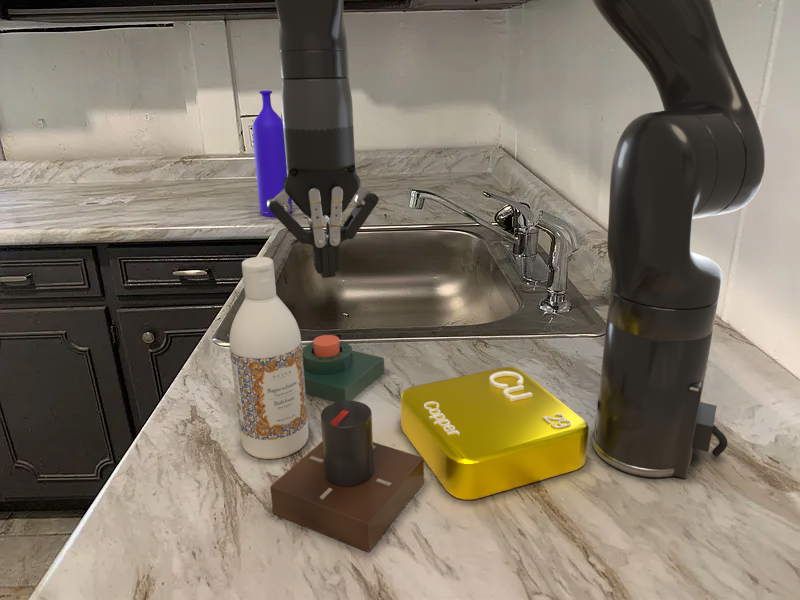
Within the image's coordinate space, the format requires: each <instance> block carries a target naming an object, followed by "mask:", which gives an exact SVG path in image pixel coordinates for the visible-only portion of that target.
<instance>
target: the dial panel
mask: <svg viewBox="0 0 800 600" xmlns="http://www.w3.org/2000/svg"><path fill="white" fill-rule="evenodd" d="M373 463H374V471H373V474H372V476H371V477H370V478H369V479H368V480H367V481H365V482H364V483H361V484H359V485H355V486H339V485H336V484H333V483H331V482H330V481H329V480H328V479H327V478H326V476H325V469H324V456H323V442H322V441H320V443H318V444H317V445H316V446H315V447H313V448H312V450H311V451H310V452H308V453H307V454H306V455H305V456H304V457H302V458H301V459H299V461H298V462H297V463H295V464H294V465H293V466H292V467H291V468H290V469H289V470H288V471H286V472H285V473H284V474H283V475H281V477H280V478H278V479H277V480H276V481H275V482H274V483H272V484H271V485H270V487H269V488H270V497H271V505H272V514H273V515H275V516H277V517H279V518H282V519H284V520H287V521H290V522H292V523H294V524H298V525H299V526H302V527H304V528H307V529H309V530H312V531H314V532H317V533H319V534H322V535H325V536H326V537H328V538H329V537H330V538H331V539H334V540H337V541H339V542H341V543H344V544H347V545H349V546H352V547H354V548H356V549H359V550H361V551H364V552H366V553H370V552H371V550H372V549H373V548H374V547H375V545H376V544H377V543H378V542H379V541H380V539H381V538H382V537H383V536H384V534H385V533H386V532H387V530H388V529H389V528H390V527H391V525H392V524H393V523H395V522H394V521H395V520H396V519H397V518H398V517H399V515H400V514H401V513H402V512H403V511H404V509H405V508H406V507H407V505H408V504H409V503H410V502H411V501H412V499H413V498H414V497H415V495H416V494H417V493H418V492H419V490H421V488H422V487H423V486H424V484H425V467H424V466H425V460H424V458H423V457H422V456H421V455H417V454H414V453H410V452H406V451H403V450H400V449H397V448H393V447H390V446H387V445H383V444H380V443H378V442H375V441H373Z"/></svg>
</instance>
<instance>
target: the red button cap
mask: <svg viewBox="0 0 800 600" xmlns="http://www.w3.org/2000/svg"><path fill="white" fill-rule="evenodd" d="M340 341H341V340H340V338H339V337H338V336H337V335H333V334H323V335H318V336H316V337H315V338H313V340H312V342H313V345H314V355H315V356H319V357H332V356H335V355H338V354H339V353H340Z"/></svg>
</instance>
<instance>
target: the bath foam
mask: <svg viewBox="0 0 800 600" xmlns="http://www.w3.org/2000/svg"><path fill="white" fill-rule="evenodd" d="M241 271H242V280H243V288H244V295H245V297H244V299H243V302H242V304H241V305H240V307H239V309H238V311H237V312H236V314H235V316H234V319H233V321H232V323H231V327H230V332H229V354H230V361H231V363H230V364H231V370H232V377H233V384H234V385H233V387H234V394H235V401H236V409H237V417H238V425H239V431H240V439H241V445H242V447H243V450H244V451H245V452H246V453H247V454H249V455H250V456H253V457H255V458H259V459H262V460H263V459H265V460H275V459H281V458H285V457H288V456H291V455H294V454H295V453H297V452H299V451H300V450H301V449H302V448H303V447H305V445H306V444H307V442H308V439H309V435H310V433H309V419H308V406H307V405H308V404H307V394H306V392H305V379H304V367H303V355H302V348H303V344H302V336H301V331H300V328H299V325H298V322H297V320H296V318H295V317H294V315H293V313H292V312H291V310H290V309H289V308H288V307H287V306H286V304H285V303H284V302H283V301H282V300H281V299H280V297H279V296H278V295H277V287H276V276H275V275H276V274H275V265H274V260H273V259H272V258H270V257H269V256H268V257H267V256H253V257H249V258H246V259H244V260H243V261H242V262H241Z"/></svg>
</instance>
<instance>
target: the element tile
mask: <svg viewBox="0 0 800 600" xmlns="http://www.w3.org/2000/svg"><path fill="white" fill-rule="evenodd" d="M400 424H401V425H400V427H401V430H402V432H403V433H404V435H405V436H406V437H407V439H408V441H409V442H410V443H411V444H412V445H413V447H414V448H415V450H416V451H417V452H418V453H419V456H420V457H423V458H424V463H426V465H427V466H428V467H429V468H430V470H431V472H432V473H433V474H434V475H435V476H436V478H437V479H438V481H439V482H440V484H441V485H442V486H443V487H444V489H445V490H446V492H447V493H449V494H450V495H451V496H452V497H454V498H457V499H460V500H464V501H465V500H467V501H468V500H470V501H471V500H476V499H477V500H478V499H482V498H484V497H485V498H486V497H488V496H491V495H495V494H498V493H501V492H505V491H509V490H513V489H516V488H519V487H522V486H525V485H529V484H533V483H536V482H540V481H543V480H547V479H550V478H554V477H556V476H560V475H563V474H567V473H571V472H574V471H577V470H579V469H581V467H583V466H584V465H585V463H586V459H587V458H586V457H587V450H588V441H589V431H590V427H589V425H588V423H587V421H585V419H584V418H583V417H581V416H580V415H579V414H577V412H575V411H573V410H572V409H571V408H570V407H568V406H567V405H566V404H565V403H564V402H562V401H561V400H559V398H557V397H556V396H554V394H552V393H551V392H550V391H549V390H547V389H546V388H545V387H543V386H542V385H541V384H539V383H538V382H537V381H535V380H534V379H533V378H532V377H531V376H529V375H528V374H527V373H526V372H524V371H522V370H521V369H519V368H517V367H514V366H506V367H498V368H494V369H488V370H484V371H478V372H474V373H469V374H465V375H461V376H456V377H451V378H446V379H442V380H436V381H432V382H428V383H422V384H419V385H413V386H411V387H408V388H406V389H404V390H403V391H402V392H401V394H400Z"/></svg>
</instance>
